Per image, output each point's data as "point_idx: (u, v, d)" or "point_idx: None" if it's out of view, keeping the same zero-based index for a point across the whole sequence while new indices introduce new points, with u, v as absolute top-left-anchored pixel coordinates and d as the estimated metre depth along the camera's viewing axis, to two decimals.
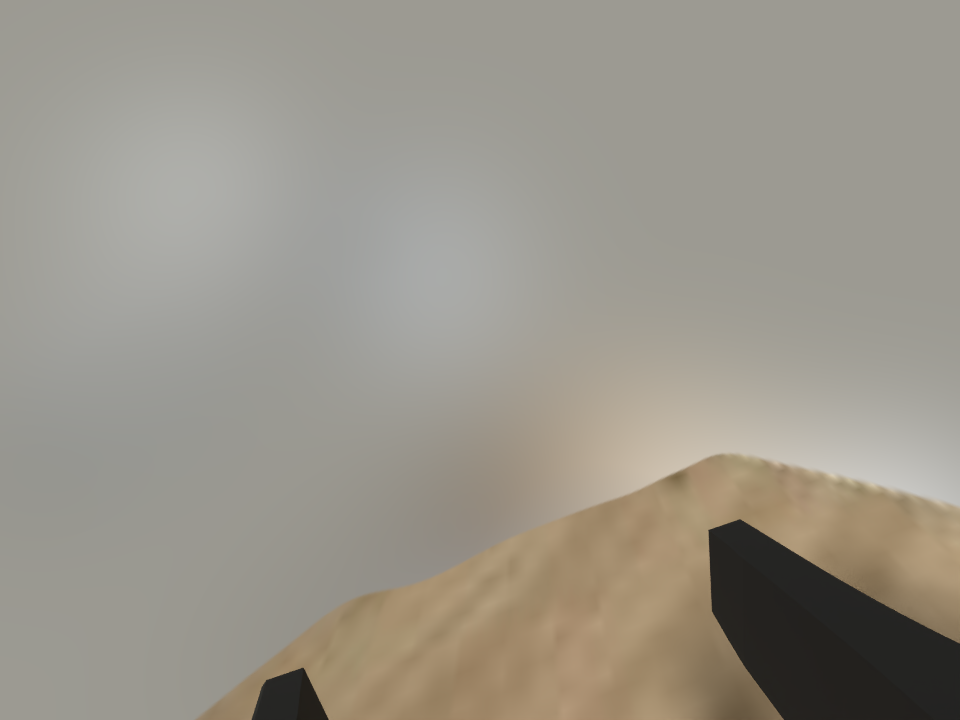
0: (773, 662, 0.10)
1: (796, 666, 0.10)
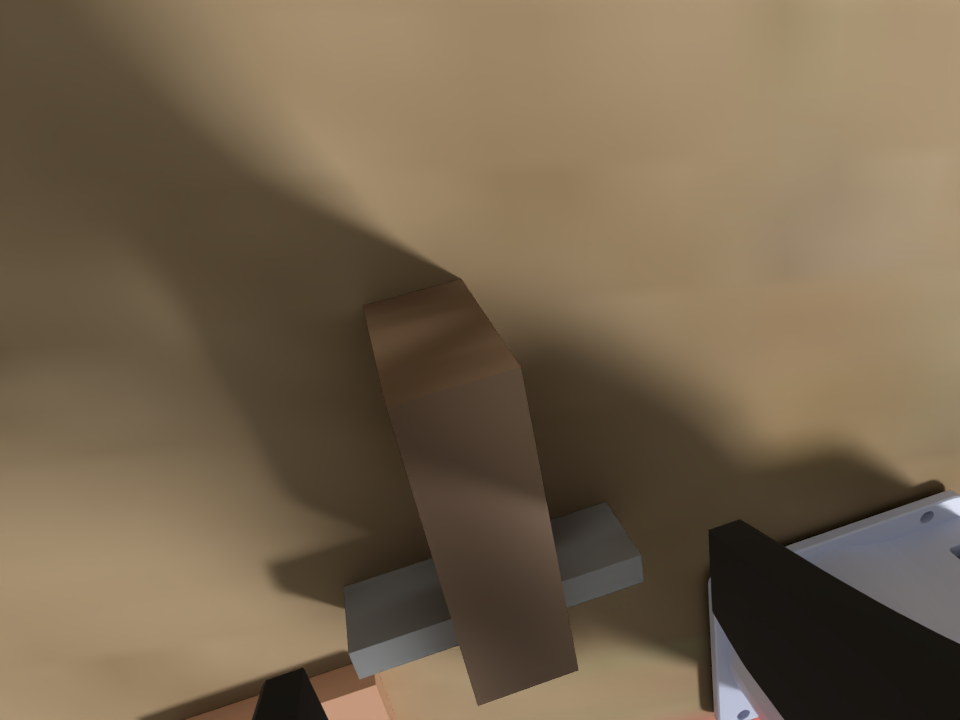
0: (773, 662, 0.10)
1: (796, 666, 0.10)
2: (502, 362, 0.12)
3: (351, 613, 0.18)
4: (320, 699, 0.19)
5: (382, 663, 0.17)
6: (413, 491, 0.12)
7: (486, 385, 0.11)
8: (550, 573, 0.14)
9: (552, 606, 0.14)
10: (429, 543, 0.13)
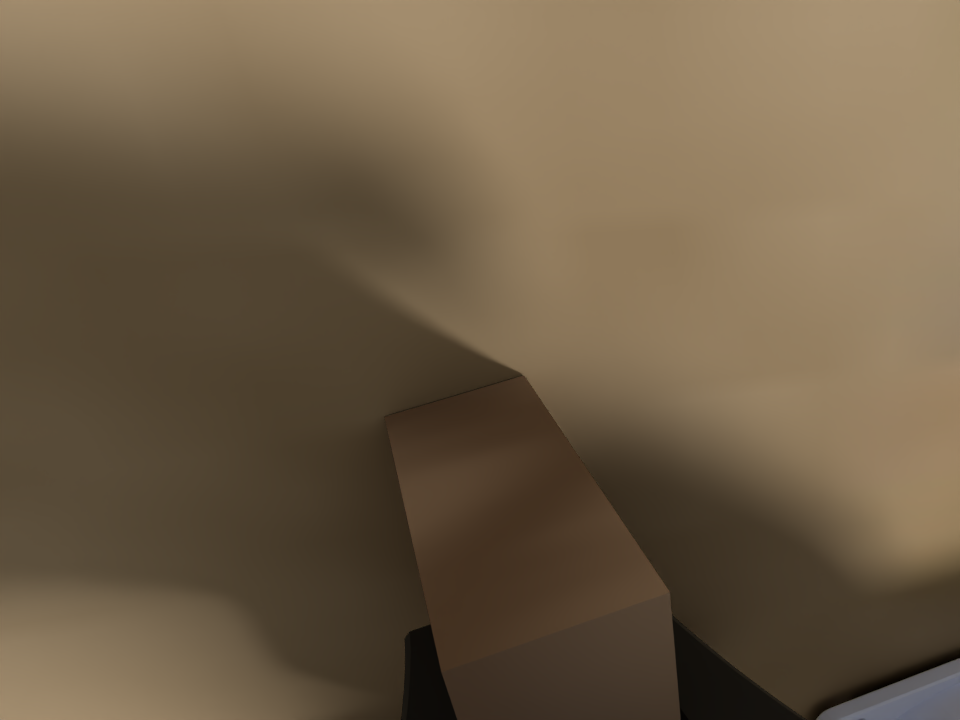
0: None
1: None
2: (632, 574, 0.07)
3: None
4: None
5: None
6: None
7: (611, 624, 0.07)
8: None
9: None
10: None
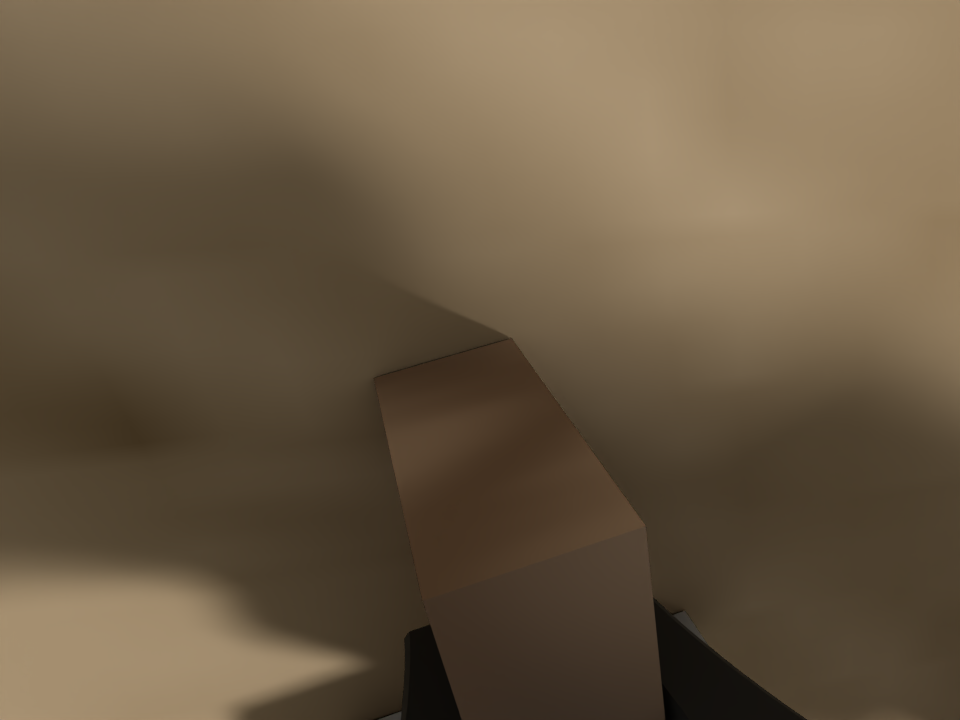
0: None
1: None
2: (610, 511, 0.07)
3: None
4: None
5: None
6: (462, 714, 0.07)
7: (588, 557, 0.07)
8: None
9: None
10: None
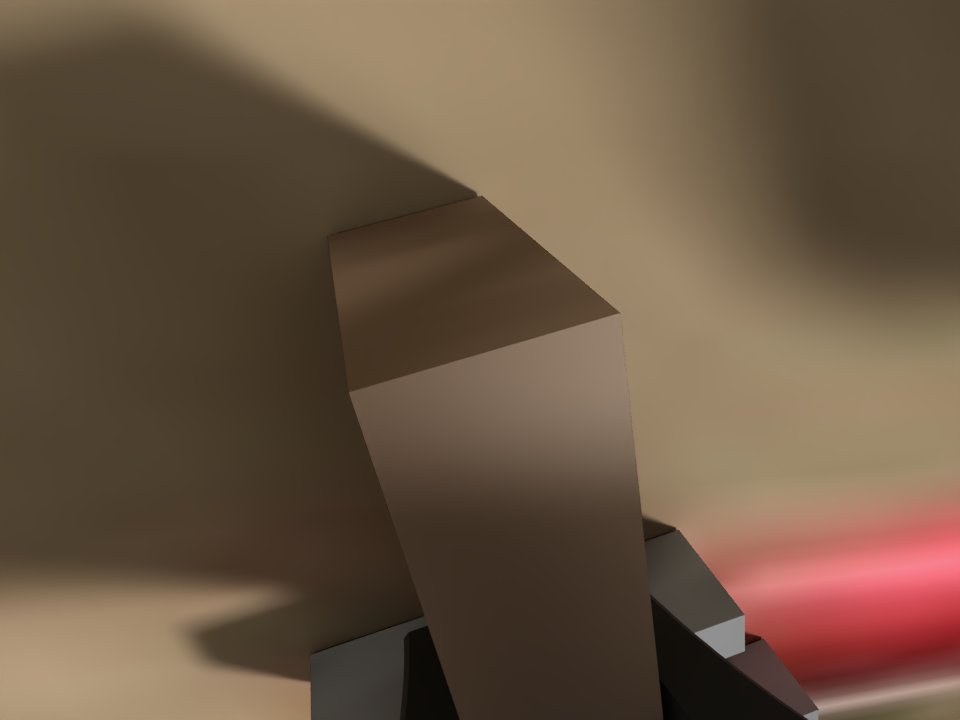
0: None
1: None
2: (578, 305, 0.06)
3: (319, 701, 0.12)
4: None
5: None
6: (406, 554, 0.06)
7: (550, 350, 0.06)
8: (641, 680, 0.08)
9: None
10: (436, 643, 0.07)
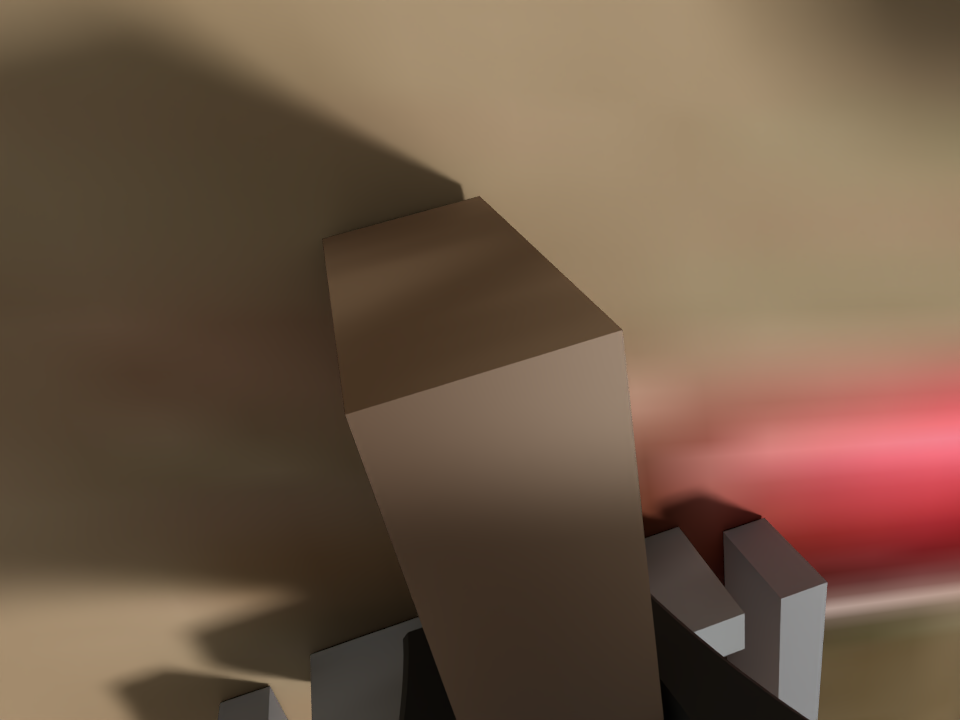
0: None
1: None
2: (580, 321, 0.06)
3: (319, 701, 0.12)
4: None
5: None
6: (405, 573, 0.06)
7: (552, 368, 0.06)
8: (644, 689, 0.08)
9: None
10: (437, 658, 0.07)
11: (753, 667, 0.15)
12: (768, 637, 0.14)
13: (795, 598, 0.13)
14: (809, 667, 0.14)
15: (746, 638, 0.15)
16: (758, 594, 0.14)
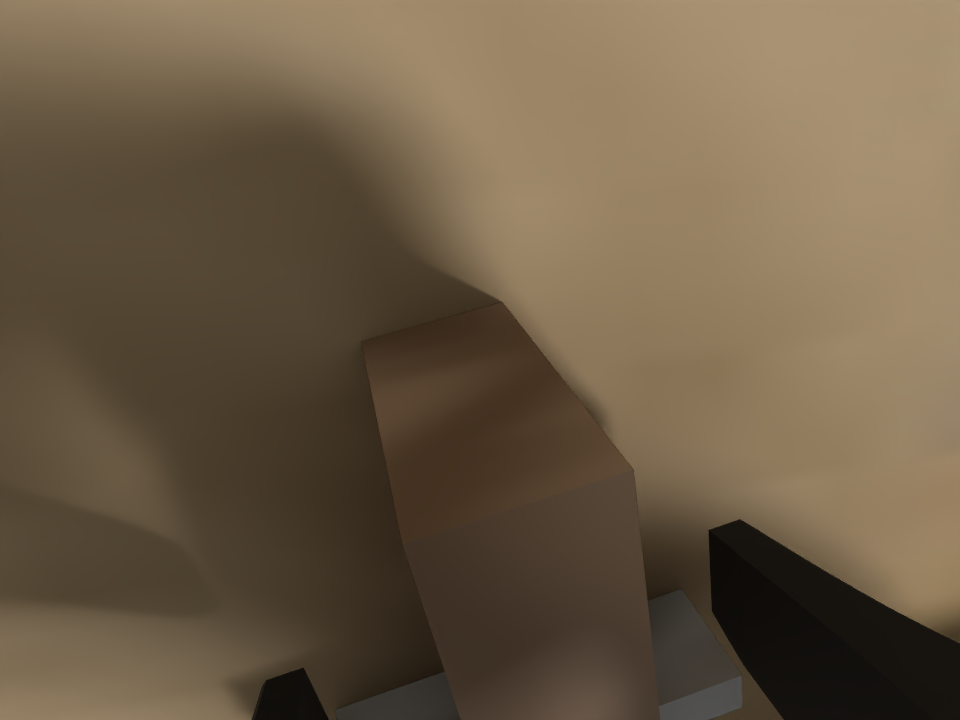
0: (773, 662, 0.10)
1: (796, 666, 0.10)
2: (597, 457, 0.07)
3: None
4: None
5: None
6: (446, 668, 0.07)
7: (573, 501, 0.07)
8: None
9: None
10: None
11: None
12: None
13: None
14: None
15: None
16: None
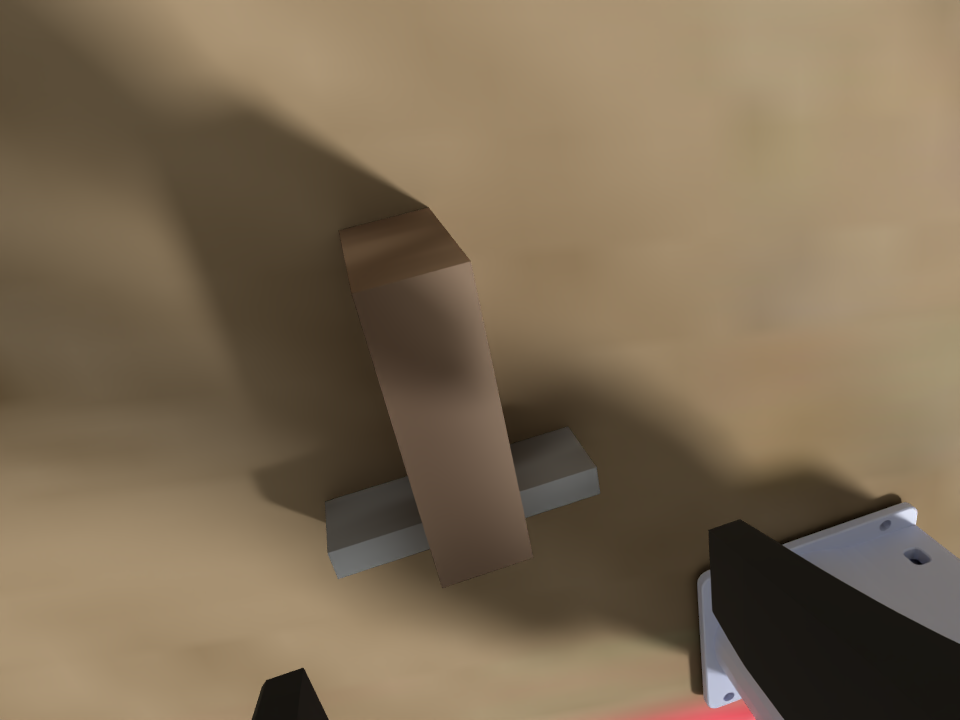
0: (773, 662, 0.10)
1: (796, 666, 0.10)
2: (455, 259, 0.13)
3: (331, 522, 0.20)
4: None
5: (359, 564, 0.19)
6: (377, 375, 0.14)
7: (440, 277, 0.13)
8: (503, 460, 0.15)
9: (507, 492, 0.16)
10: (393, 426, 0.14)
11: None
12: None
13: None
14: None
15: None
16: None
